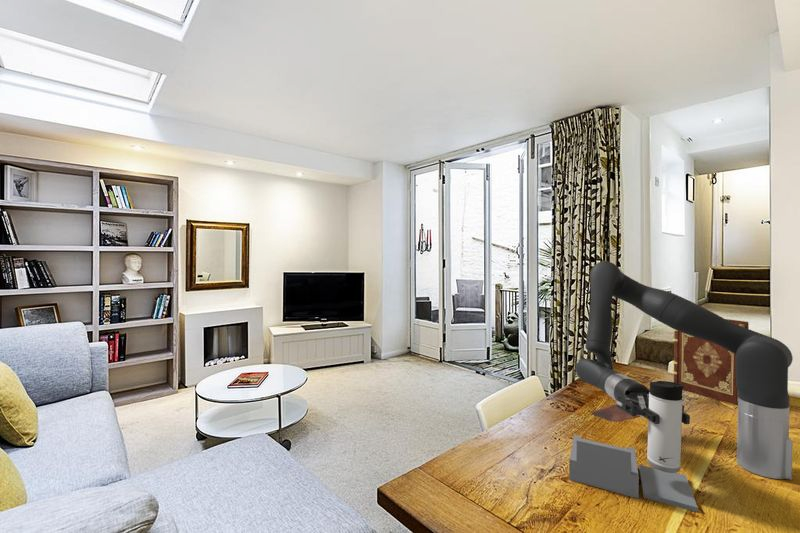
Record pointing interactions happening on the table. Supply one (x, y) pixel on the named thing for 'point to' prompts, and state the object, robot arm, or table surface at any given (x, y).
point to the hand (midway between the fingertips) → (673, 420)
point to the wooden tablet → (613, 414)
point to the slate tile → (667, 488)
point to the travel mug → (665, 426)
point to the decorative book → (705, 366)
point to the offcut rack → (604, 466)
